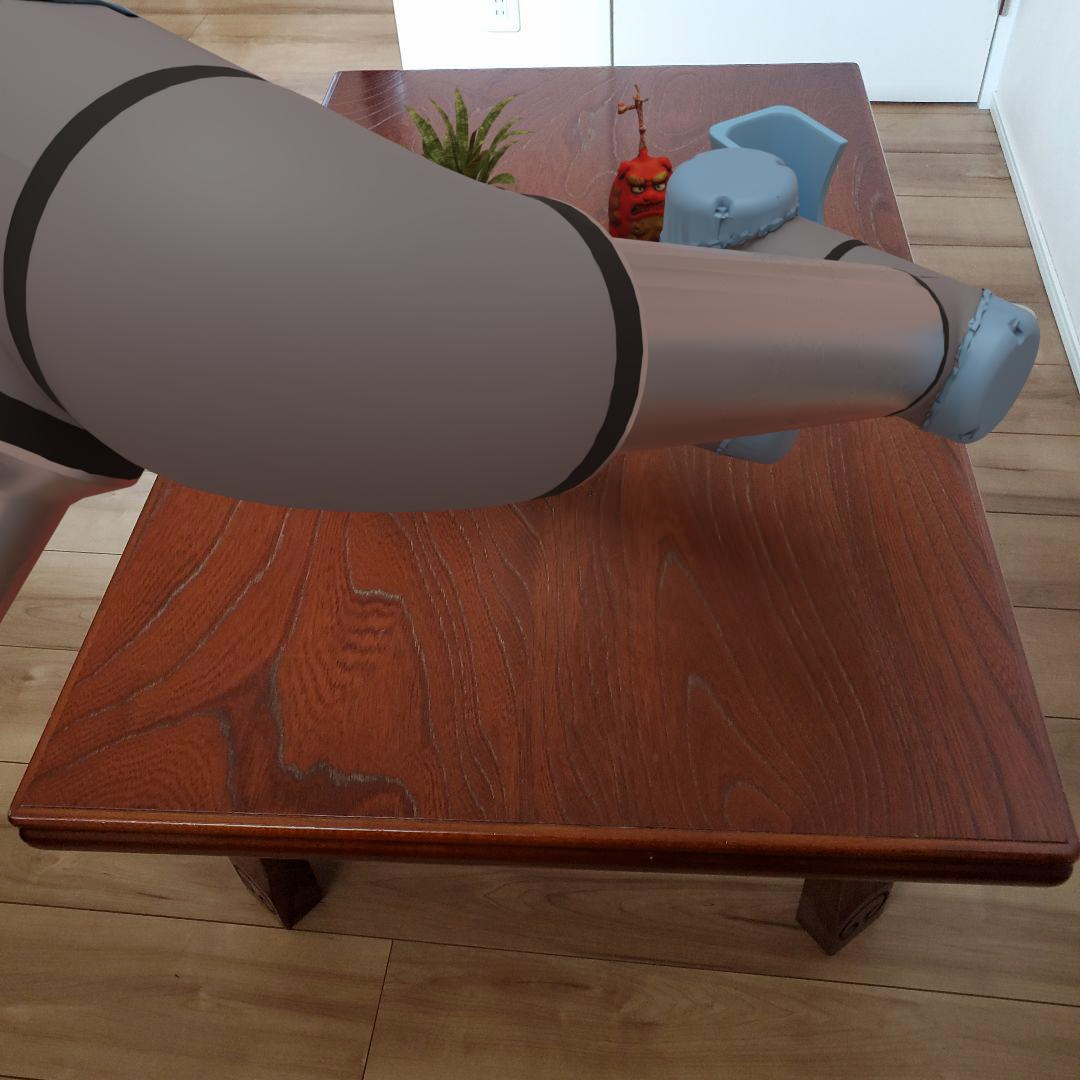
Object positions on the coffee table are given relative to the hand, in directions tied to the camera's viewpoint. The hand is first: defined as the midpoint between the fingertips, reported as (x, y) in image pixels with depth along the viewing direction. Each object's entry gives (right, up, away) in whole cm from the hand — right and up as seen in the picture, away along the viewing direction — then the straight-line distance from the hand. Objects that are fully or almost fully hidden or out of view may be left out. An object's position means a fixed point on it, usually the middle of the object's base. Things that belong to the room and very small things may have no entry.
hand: (320, 278), depth 85 cm
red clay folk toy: (+27, +9, +26) cm, 39 cm away
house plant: (+11, +8, +25) cm, 29 cm away
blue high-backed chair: (+35, -4, +13) cm, 38 cm away
